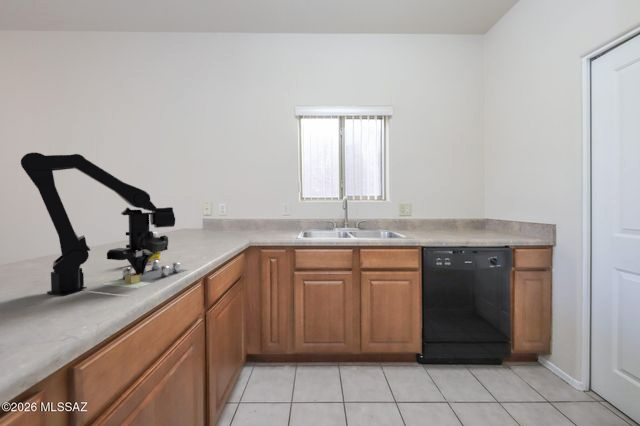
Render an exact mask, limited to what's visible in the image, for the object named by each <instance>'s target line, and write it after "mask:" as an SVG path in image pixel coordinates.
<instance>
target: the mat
mask: <svg viewBox="0 0 640 426" xmlns="http://www.w3.org/2000/svg"><path fill="white" fill-rule="evenodd" d="M187 271H188V269H181V268H180V273H173V268H170V267H169V277H161V267H159V270H157V271H151V269H150V270H146V274H143V275H142V281H140V282H139V283H134V284H127V283H125V279H123V277H122V278H119V279H115V280H113V281H109V282H106V283H102V284H101V285H104V286H112V287H113V286H114V287H123V288H131V289H132V288H133V289H138V288H142V287H144V286H146V285H149V284H153V283H156V282H159V281H162V280H164V279H167V278H170V277H172V276H175V275H178V274H182V273H184V272H187Z"/></svg>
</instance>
